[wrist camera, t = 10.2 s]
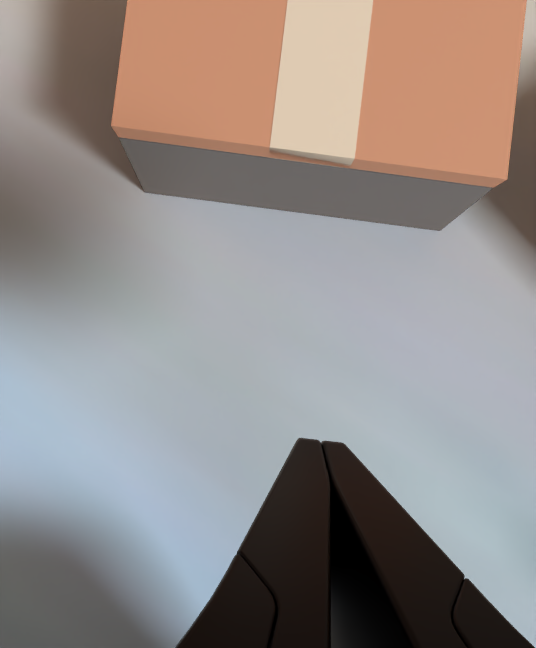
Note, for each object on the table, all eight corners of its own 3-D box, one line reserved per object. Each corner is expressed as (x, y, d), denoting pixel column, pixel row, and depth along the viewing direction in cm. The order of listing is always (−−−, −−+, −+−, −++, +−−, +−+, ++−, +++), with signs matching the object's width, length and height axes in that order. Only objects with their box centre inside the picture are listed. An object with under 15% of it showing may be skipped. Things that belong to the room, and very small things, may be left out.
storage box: (440, 230, 24) (492, 188, 19) (144, 192, 23) (119, 138, 18) (451, 58, 25) (503, -24, 20) (172, 17, 25) (154, -77, 20)
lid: (493, 187, 19) (507, 179, 18) (118, 137, 18) (110, 125, 17) (518, -46, 19) (533, -68, 18) (149, -102, 19) (143, -129, 18)
